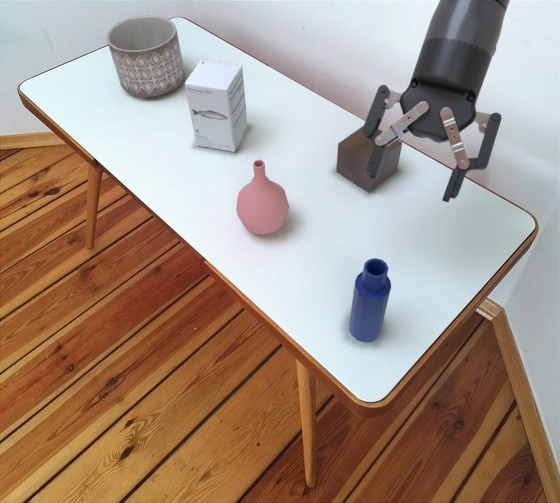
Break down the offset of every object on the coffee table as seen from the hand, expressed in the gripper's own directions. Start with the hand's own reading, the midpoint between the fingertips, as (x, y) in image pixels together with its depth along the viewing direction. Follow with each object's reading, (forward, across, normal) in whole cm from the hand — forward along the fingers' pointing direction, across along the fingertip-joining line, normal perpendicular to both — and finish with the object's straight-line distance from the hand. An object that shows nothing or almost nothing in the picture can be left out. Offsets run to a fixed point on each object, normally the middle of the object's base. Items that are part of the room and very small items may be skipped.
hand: (408, 190), depth 59 cm
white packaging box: (0, -36, +22) cm, 42 cm away
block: (-1, -10, +24) cm, 26 cm away
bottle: (+18, 0, +4) cm, 19 cm away
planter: (-6, -57, +28) cm, 64 cm away
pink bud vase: (+11, -20, +12) cm, 26 cm away
